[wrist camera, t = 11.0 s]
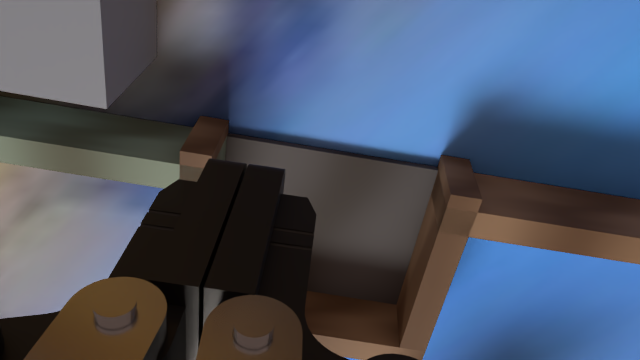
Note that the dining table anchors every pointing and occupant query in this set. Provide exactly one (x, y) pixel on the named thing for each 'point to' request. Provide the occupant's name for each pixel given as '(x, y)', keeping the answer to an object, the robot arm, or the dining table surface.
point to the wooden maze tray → (342, 212)
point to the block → (75, 48)
